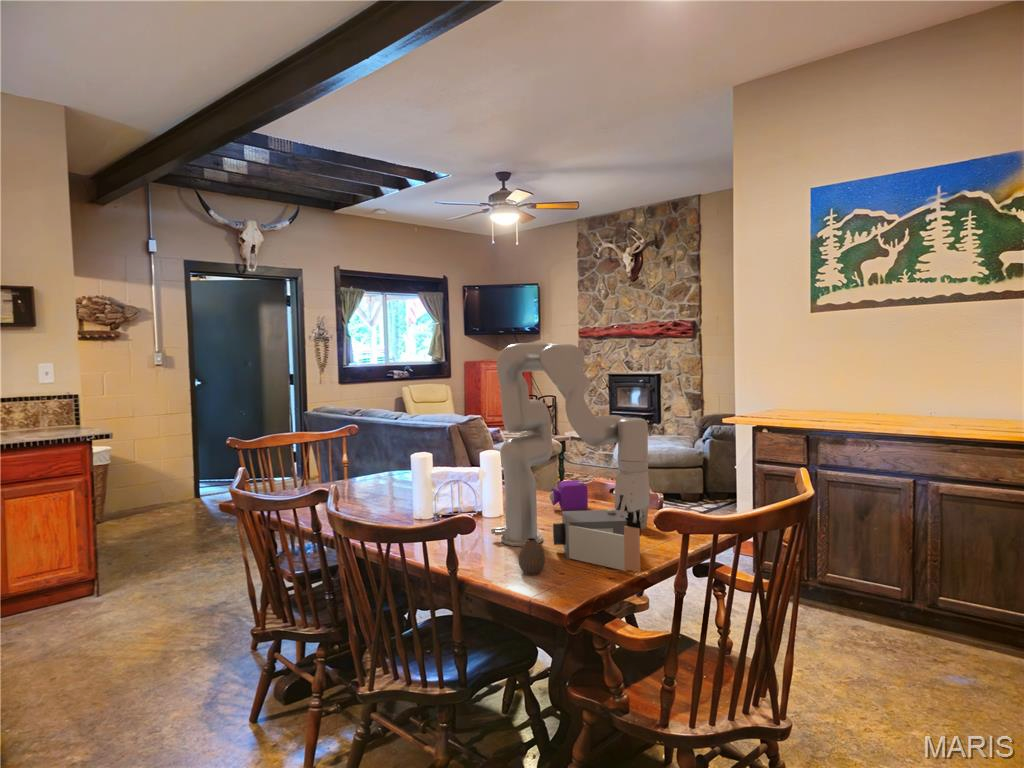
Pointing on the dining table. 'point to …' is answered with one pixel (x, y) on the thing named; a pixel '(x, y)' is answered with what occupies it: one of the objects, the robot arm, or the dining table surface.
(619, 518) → the camera housing
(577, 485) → the toy camera
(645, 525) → the coffee cup
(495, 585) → the dining table surface
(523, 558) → the vase
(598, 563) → the door
